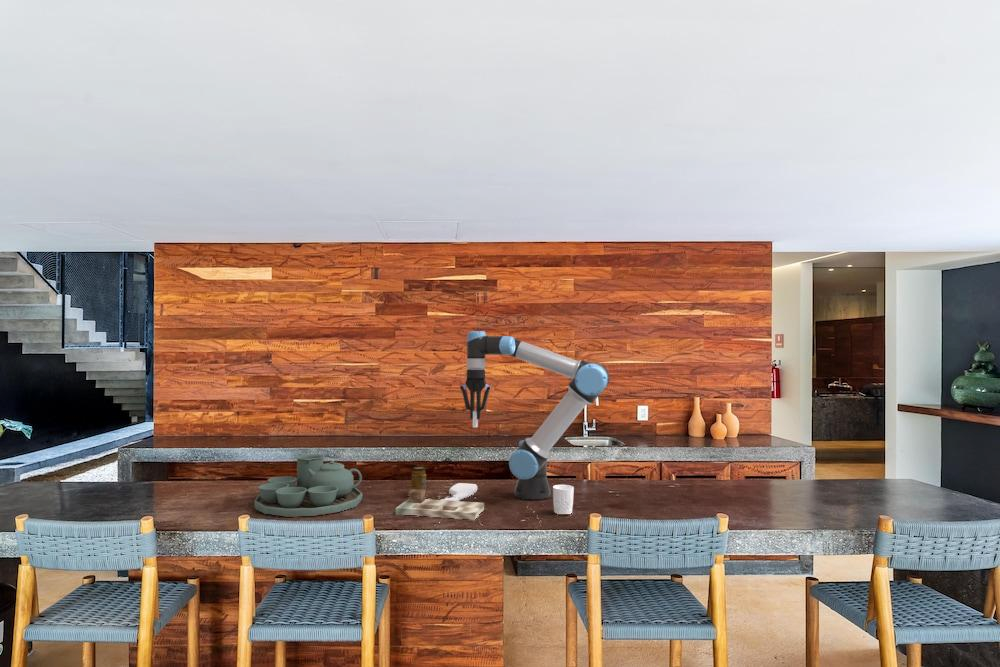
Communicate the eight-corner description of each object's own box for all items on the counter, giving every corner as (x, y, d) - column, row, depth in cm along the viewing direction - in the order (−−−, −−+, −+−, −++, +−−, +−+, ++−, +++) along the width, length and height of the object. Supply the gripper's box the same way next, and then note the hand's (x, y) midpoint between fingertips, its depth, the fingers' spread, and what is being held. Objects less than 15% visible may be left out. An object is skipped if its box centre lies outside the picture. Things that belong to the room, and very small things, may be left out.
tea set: (235, 505, 237) (236, 462, 238) (326, 487, 267) (326, 449, 268) (288, 526, 211) (289, 478, 211) (382, 504, 241) (383, 462, 241)
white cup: (568, 518, 224) (568, 490, 224) (548, 514, 228) (549, 487, 228) (577, 513, 231) (577, 486, 231) (558, 509, 235) (558, 483, 235)
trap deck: (484, 509, 234) (484, 502, 234) (475, 520, 219) (475, 513, 219) (409, 504, 240) (409, 498, 240) (395, 514, 225) (395, 508, 225)
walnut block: (425, 500, 237) (425, 489, 237) (421, 503, 232) (421, 492, 232) (412, 499, 238) (413, 489, 238) (408, 502, 233) (408, 492, 233)
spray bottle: (479, 490, 266) (463, 506, 242) (455, 489, 268) (437, 504, 244) (479, 484, 266) (463, 498, 242) (455, 482, 268) (437, 496, 244)
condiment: (421, 494, 257) (421, 465, 258) (432, 498, 251) (432, 468, 251) (406, 496, 253) (406, 467, 253) (417, 500, 246) (417, 470, 246)
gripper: (493, 368, 252) (492, 426, 251) (462, 368, 254) (462, 425, 254) (489, 369, 244) (488, 429, 244) (458, 369, 247) (457, 427, 246)
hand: (475, 427), depth 249 cm, fingers closed
